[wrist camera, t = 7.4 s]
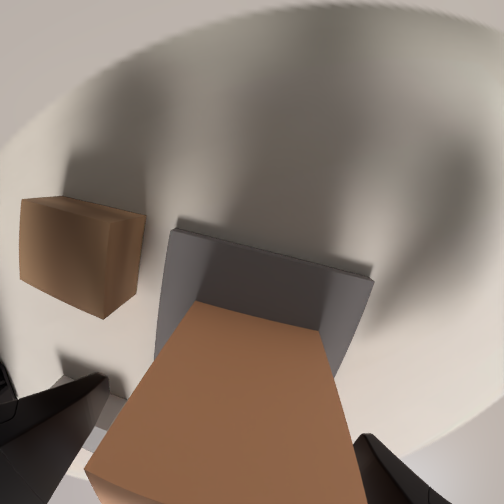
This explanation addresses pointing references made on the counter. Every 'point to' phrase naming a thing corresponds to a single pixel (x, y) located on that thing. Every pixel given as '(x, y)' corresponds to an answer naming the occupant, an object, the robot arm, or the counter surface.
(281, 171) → the counter surface
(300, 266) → the charcoal mat
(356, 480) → the terracotta block
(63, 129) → the counter surface
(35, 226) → the walnut block
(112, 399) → the grey plastic block
